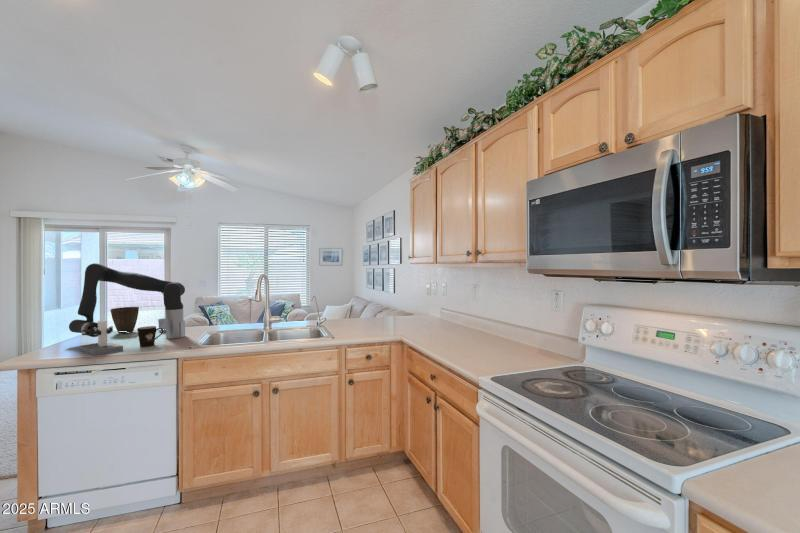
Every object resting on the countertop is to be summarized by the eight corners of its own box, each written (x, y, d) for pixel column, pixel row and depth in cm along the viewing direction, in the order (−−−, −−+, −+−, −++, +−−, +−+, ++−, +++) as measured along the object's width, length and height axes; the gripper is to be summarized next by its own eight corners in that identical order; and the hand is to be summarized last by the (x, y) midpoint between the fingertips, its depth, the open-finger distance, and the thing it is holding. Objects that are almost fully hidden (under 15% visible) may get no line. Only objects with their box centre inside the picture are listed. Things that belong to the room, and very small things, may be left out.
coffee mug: (136, 348, 196) (135, 329, 196) (139, 345, 204) (138, 327, 204) (162, 345, 202) (161, 327, 202) (163, 342, 209) (163, 325, 209)
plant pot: (106, 335, 230) (105, 310, 230) (117, 331, 245) (116, 307, 244) (134, 334, 234) (133, 309, 234) (143, 329, 249) (142, 306, 248)
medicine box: (164, 332, 240) (164, 319, 240) (158, 332, 241) (158, 318, 241) (174, 330, 248) (173, 317, 248) (168, 329, 249) (168, 317, 248)
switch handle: (98, 346, 190) (97, 321, 190) (105, 345, 193) (104, 320, 193) (100, 346, 189) (99, 321, 189) (107, 345, 192) (106, 320, 191)
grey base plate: (80, 350, 193) (80, 345, 193) (108, 345, 203) (107, 341, 203) (94, 355, 182) (94, 350, 182) (123, 350, 192) (123, 345, 192)
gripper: (75, 324, 193) (87, 327, 183) (107, 320, 205) (120, 323, 195) (75, 338, 193) (87, 342, 184) (108, 333, 205) (121, 337, 195)
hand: (104, 332), depth 189 cm, fingers closed on switch handle, 3 cm apart
